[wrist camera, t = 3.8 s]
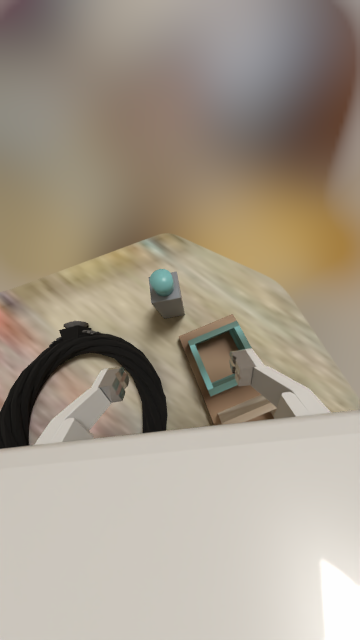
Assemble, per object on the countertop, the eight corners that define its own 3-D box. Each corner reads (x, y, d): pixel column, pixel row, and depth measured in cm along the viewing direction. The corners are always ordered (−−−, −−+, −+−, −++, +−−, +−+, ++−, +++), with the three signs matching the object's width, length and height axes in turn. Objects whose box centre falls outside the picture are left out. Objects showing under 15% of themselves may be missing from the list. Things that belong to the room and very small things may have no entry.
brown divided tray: (305, 456, 19) (339, 487, 14) (238, 485, 19) (252, 524, 14) (230, 316, 25) (238, 308, 20) (179, 337, 24) (176, 333, 20)
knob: (184, 314, 26) (179, 290, 16) (164, 318, 26) (146, 296, 16) (181, 295, 27) (174, 262, 17) (161, 299, 27) (143, 268, 17)
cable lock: (-33, 584, 16) (-5, 341, 24) (9, 541, 20) (21, 343, 28) (188, 533, 15) (142, 299, 23) (189, 498, 19) (149, 307, 27)
